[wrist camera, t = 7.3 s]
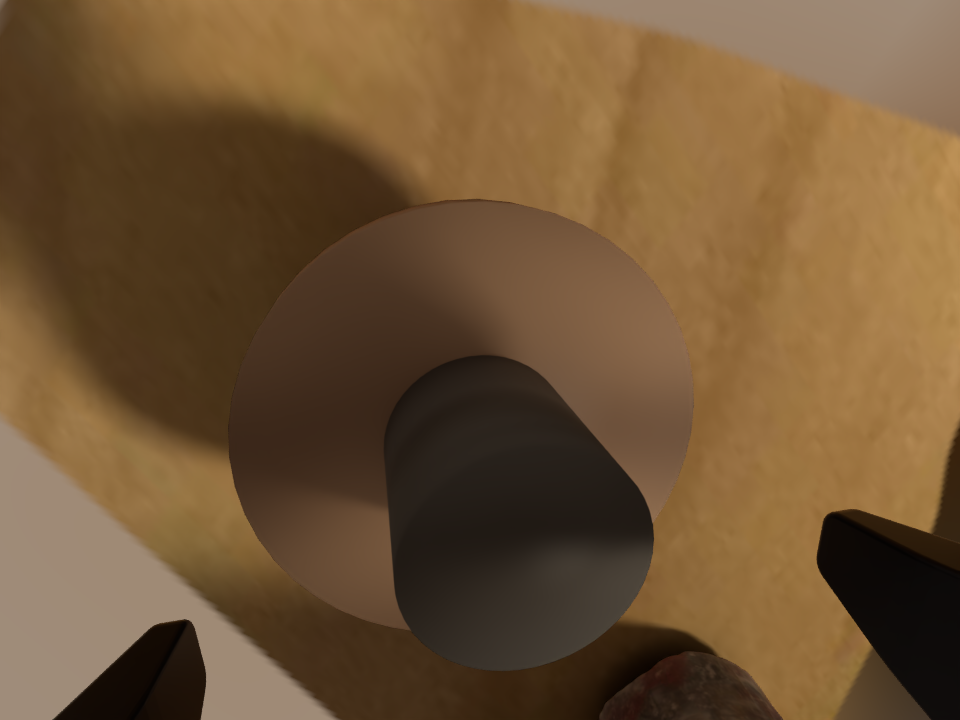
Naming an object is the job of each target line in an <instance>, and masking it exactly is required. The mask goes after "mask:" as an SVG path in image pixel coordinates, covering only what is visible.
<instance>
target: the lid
mask: <svg viewBox="0 0 960 720" xmlns="http://www.w3.org/2000/svg"><path fill="white" fill-rule="evenodd" d="M693 408H694V399H693V377H692V371H691V365H690V359H689V354H688V350H687V347H686V344H685V341H684V338H683V335H682V331H681V328H680V326H679V324H678V322H677V320H676V318H675V316H674V314H673V312H672V310H671V308H670V306H669V303H668V302H667V300H666V299H665V298H664V296H663V295H662V293H661V292H660V290H659V289H658V287H657V286H656V284H655V283H654V281H653V280H652V279H651V278H650V277H649V276H648V275H647V274H646V272H645V271H644V270H643V269H642V268H641V267H640V266H639V265H638V264H637V263H636V262H635V261H634V260H633V259H632V258H631V257H630V256H629V255H627V254H626V253H625V252H624V251H622V250H621V249H620V248H619V247H617V246H616V245H615V244H614V243H612V242H611V241H610V240H608V239H606V238H605V237H603V236H601V235H600V234H598V233H596V232H594V231H593V230H591V229H589V228H588V227H586V226H584V225H582V224H580V223H577V222H575V221H572V220H570V219H567V218H565V217H562V216H560V215H557V214H555V213H551V212H547V211H543V210H539V209H535V208H531V207H527V206H523V205H519V204H515V203H510V202H502V201H492V200H482V199H468V200H445V201H440V202H434V203H429V204H423V205H418V206H413V207H410V208H407V209H404V210H400V211H397V212H394V213H391V214H388V215H385V216H382V217H380V218H378V219H376V220H374V221H372V222H370V223H368V224H366V225H363V226H361V227H359V228H357V229H355V230H353V231H351V232H350V233H348V234H347V235H345V236H344V237H342V238H341V239H339V240H338V241H336V242H335V243H333V244H332V245H330V246H329V247H327V248H326V249H325V250H323V251H322V252H321V253H320V254H319V255H318V256H317V257H315V258H314V259H313V260H312V261H311V262H310V263H309V264H308V265H306V266H305V267H304V268H303V269H302V270H301V271H300V272H299V273H298V274H297V275H296V277H295V278H294V279H293V280H292V281H291V282H290V284H289V285H288V286H287V287H286V288H285V289H284V291H283V292H282V293H281V294H280V295H279V297H278V299H277V300H276V302H275V303H274V305H273V306H272V308H271V310H270V311H269V313H268V314H267V316H266V317H265V319H264V321H263V322H262V324H261V325H260V327H259V328H258V330H257V332H256V333H255V335H254V337H253V339H252V341H251V344H250V346H249V348H248V350H247V353H246V355H245V357H244V359H243V362H242V364H241V366H240V370H239V373H238V377H237V381H236V384H235V388H234V391H233V395H232V401H231V410H230V418H229V426H228V431H229V458H230V463H231V469H232V474H233V479H234V484H235V488H236V491H237V494H238V497H239V499H240V502H241V505H242V508H243V511H244V513H245V515H246V517H247V519H248V521H249V523H250V525H251V527H252V528H253V530H254V532H255V534H256V536H257V538H258V539H259V541H260V542H261V543H262V545H263V546H264V547H265V549H266V550H267V551H268V553H269V554H270V555H271V557H272V558H273V559H274V561H275V562H276V563H277V564H278V565H279V566H280V567H281V568H282V569H283V570H284V571H285V572H286V573H287V574H288V575H289V576H290V577H291V578H292V579H293V580H294V581H296V582H297V583H298V584H300V585H301V586H302V587H304V588H305V589H306V590H308V591H309V592H310V593H312V594H313V595H314V596H316V597H317V598H319V599H321V600H323V601H324V602H326V603H328V604H330V605H332V606H333V607H335V608H337V609H339V610H341V611H343V612H346V613H348V614H350V615H353V616H355V617H358V618H360V619H363V620H365V621H369V622H373V623H376V624H380V625H384V626H387V627H391V628H398V629H404V630H411V631H412V633H413V634H414V635H415V636H416V637H417V638H418V639H419V640H420V641H421V642H422V643H423V644H424V645H425V646H427V647H428V648H429V649H430V650H432V651H433V652H435V653H436V654H438V655H440V656H442V657H443V658H445V659H447V660H450V661H452V662H454V663H457V664H459V665H463V666H467V667H471V668H474V669H482V670H489V671H511V670H522V669H527V668H533V667H538V666H541V665H544V664H548V663H551V662H554V661H557V660H559V659H561V658H564V657H566V656H569V655H571V654H572V653H574V652H576V651H578V650H580V649H582V648H584V647H585V646H587V645H588V644H590V643H591V642H593V641H594V640H596V639H597V638H598V637H600V636H601V635H602V634H603V633H605V632H606V631H607V630H608V629H609V628H610V627H611V626H612V625H613V624H614V623H616V622H617V621H618V620H619V619H620V617H621V616H622V615H623V614H624V613H625V611H626V610H627V609H628V608H629V606H630V605H631V603H632V602H633V600H634V599H635V597H636V596H637V594H638V593H639V591H640V589H641V587H642V585H643V583H644V581H645V578H646V575H647V573H648V570H649V567H650V563H651V558H652V554H653V543H654V533H653V522H654V521H655V519H656V518H657V516H658V515H659V513H660V511H661V510H662V508H663V507H664V505H665V503H666V501H667V499H668V497H669V495H670V493H671V491H672V489H673V487H674V485H675V483H676V481H677V478H678V476H679V473H680V470H681V467H682V465H683V462H684V459H685V456H686V452H687V447H688V443H689V439H690V434H691V428H692V418H693Z"/></svg>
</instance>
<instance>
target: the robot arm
mask: <svg viewBox="0 0 960 720" xmlns="http://www.w3.org/2000/svg"><path fill="white" fill-rule="evenodd" d="M817 565H818V568H819V571H820V573H821V574H822V576H823V578H824V579H825V580H826V582H827V583H828V585H829V586H830V587H831V589H832V590H833V592H834V593H835V594H836V596H837V597H838V599H839V600H840V601H841V603H842V604H843V606H844V607H845V608H846V610H847V611H848V613H849V614H850V615H851V617H852V618H853V620H854V621H855V623H856V624H857V625H858V627H859V628H860V630H861V631H862V632H863V634H864V635H865V637H866V638H867V639H868V641H869V642H870V644H871V645H872V646H873V648H874V649H875V650H876V652H877V653H878V655H879V656H880V657H881V658H882V660H883V661H884V663H885V664H886V665H887V667H888V668H889V669H890V670H891V672H892V673H893V674H894V676H895V677H896V678H897V679H898V681H899V682H900V683H901V684H902V686H903V687H904V688H905V689H906V690H907V692H908V693H909V694H910V695H911V696H912V697H913V699H914V700H915V701H916V702H917V703H918V705H920V707H921V708H922V709H923V711H924V712H925V713H926V714H927V715H928V716H929V718H930V719H931V720H960V543H958V542H954V541H951V540H948V539H945V538H942V537H939V536H936V535H933V534H930V533H927V532H924V531H921V530H918V529H915V528H912V527H909V526H906V525H903V524H900V523H897V522H894V521H891V520H888V519H885V518H882V517H879V516H876V515H873V514H870V513H867V512H863V511H860V510H857V509H847V510H841V511H835V512H831V513H829V514H827V516H826V517H825V518H824V521H823V525H822V530H821V535H820V541H819V546H818V551H817ZM205 687H206V672H205V666H204V662H203V658H202V655H201V650H200V647H199V643H198V639H197V635H196V631H195V628H194V626H193V624H192V622H190V621H189V620H185V619H184V620H178V621H172V622H166V623H160V624H157V625H154V626H153V627H152V628H150V629H149V630H148V631H147V632H146V633H144V634H143V636H141V637H140V638H139V639H138V640H137V641H136V642H135V643H134V644H133V645H132V646H131V647H130V648H129V649H128V650H126V651H125V652H124V653H123V654H122V655H121V656H120V657H119V658H118V659H117V660H116V661H115V662H114V663H113V664H111V665H110V666H109V668H107V669H106V670H105V671H104V672H103V673H102V674H101V675H100V676H99V677H98V678H97V679H96V680H95V681H94V682H92V683H91V684H90V685H89V686H88V687H87V688H86V689H85V690H84V691H83V692H82V693H81V694H80V695H78V696H77V698H75V699H74V700H73V701H72V702H71V703H70V704H69V705H68V706H67V707H66V708H65V709H64V710H63V711H61V712H60V714H58V715H57V716H56V717H55V718H54V719H53V720H201V714H202V707H203V701H204V695H205Z"/></svg>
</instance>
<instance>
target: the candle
mask: <svg viewBox="0 0 960 720" xmlns="http://www.w3.org/2000/svg"><path fill="white" fill-rule="evenodd" d="M599 720H783V719H782V717H781V716H780V715H779V714H778V712H777V711H776V710H775V709H774V707H773V706H772V704H771V703H770V702H769V700H768V699H767V697H766V695H765V694H764V692H763V691H762V689H761V688H760V687H759V686H758V685H757V683H756V682H755V681H754V679H753V678H752V677H751V676H750V675H749V674H748V672H746V671H745V670H743V669H741V668H740V667H739V666H737V665H736V664H734V663H732V662H730V661H728V660H726V659H723V658H720V657H716V656H714V655H712V654H708V653H702V652H693V651H684V652H682V653H680V654H679V655H673V656H670V657H666V658H664V659H662V660H661V661H659V662H658V663H657V664H656V665H655V666H654V667H653V668H652V669H650V670H649V671H648V672H646V673H644V674H642V675H640V676H639V677H637V678H636V679H635V680H634V681H633V682H631V683H630V684H628V685H627V686H626V687H625V688H624V689H622V690H620V691H618V692H617V693H616V694H615V696H613V697H612V698H611V699H610V700H608V701H607V702H606V703H605V705H604V708H603V710H602V712H601V713H600V716H599Z"/></svg>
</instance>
